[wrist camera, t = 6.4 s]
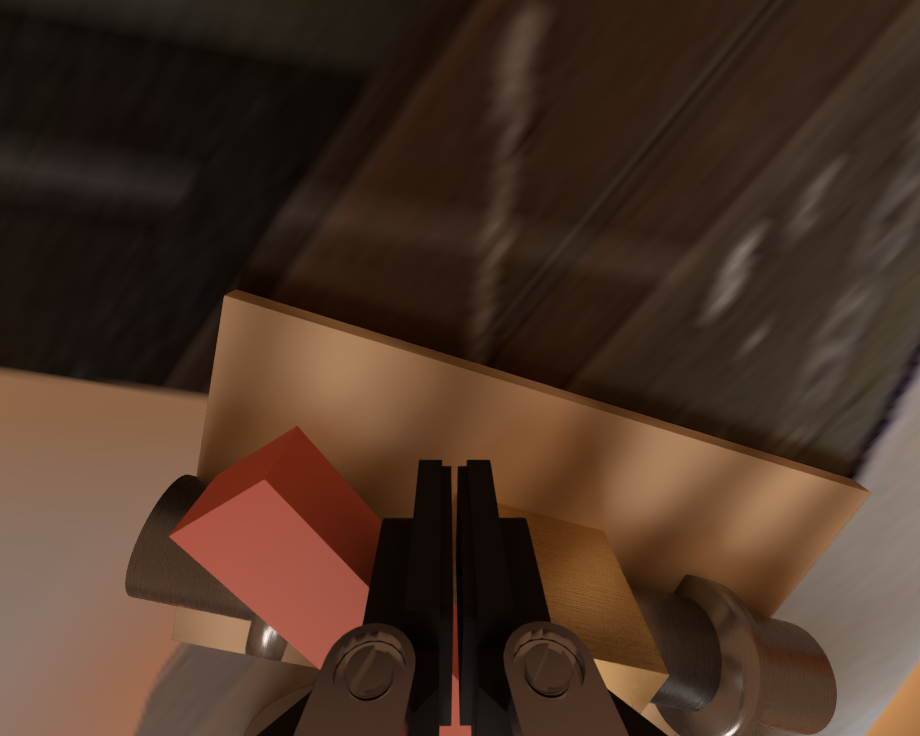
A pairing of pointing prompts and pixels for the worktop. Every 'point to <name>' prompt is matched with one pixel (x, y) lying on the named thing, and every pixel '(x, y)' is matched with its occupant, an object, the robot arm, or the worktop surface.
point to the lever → (293, 547)
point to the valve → (581, 626)
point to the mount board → (511, 457)
